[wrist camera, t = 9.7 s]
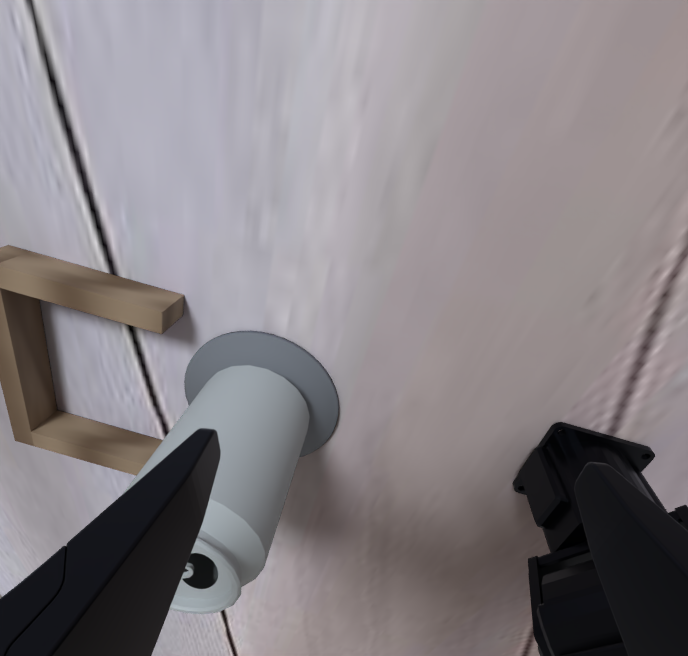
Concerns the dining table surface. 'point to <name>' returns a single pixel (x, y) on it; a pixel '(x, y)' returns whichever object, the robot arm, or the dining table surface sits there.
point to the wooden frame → (33, 362)
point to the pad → (277, 359)
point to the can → (238, 479)
